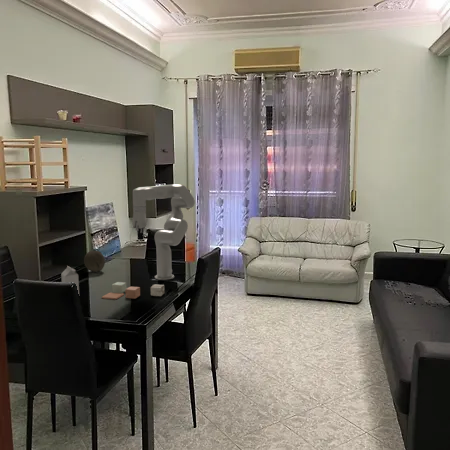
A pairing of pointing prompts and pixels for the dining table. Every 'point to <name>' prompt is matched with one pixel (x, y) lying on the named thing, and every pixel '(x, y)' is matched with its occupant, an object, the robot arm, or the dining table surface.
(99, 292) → the dining table surface
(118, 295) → the colour tile
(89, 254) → the cantaloupe
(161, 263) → the robot arm
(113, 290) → the sage block
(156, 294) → the cream block
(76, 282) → the milk carton
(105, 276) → the dining table surface
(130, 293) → the terracotta block
